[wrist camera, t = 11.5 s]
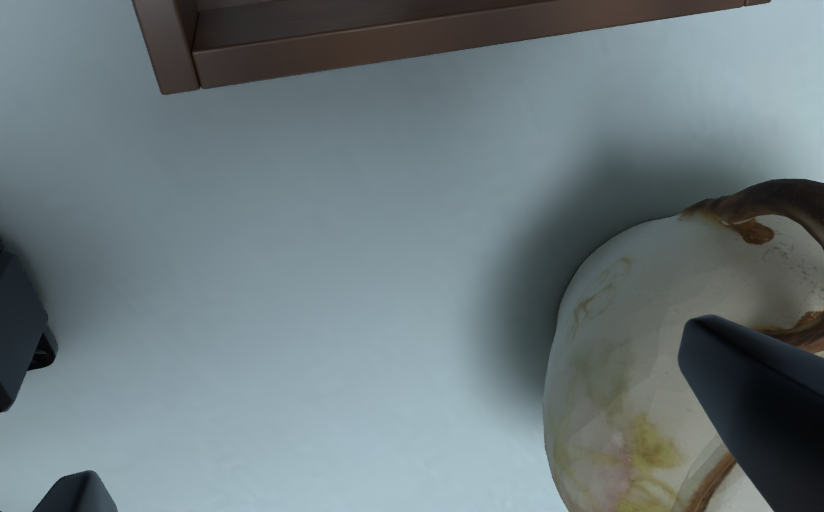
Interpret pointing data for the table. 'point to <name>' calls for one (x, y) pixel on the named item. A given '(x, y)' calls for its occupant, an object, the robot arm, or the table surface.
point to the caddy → (360, 31)
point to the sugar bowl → (674, 347)
